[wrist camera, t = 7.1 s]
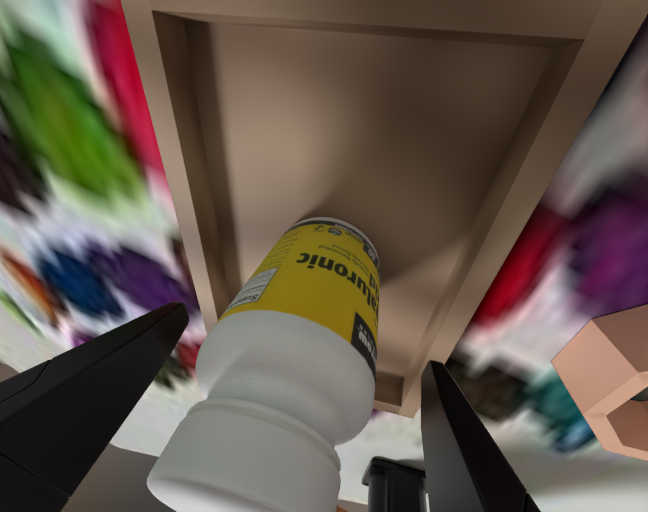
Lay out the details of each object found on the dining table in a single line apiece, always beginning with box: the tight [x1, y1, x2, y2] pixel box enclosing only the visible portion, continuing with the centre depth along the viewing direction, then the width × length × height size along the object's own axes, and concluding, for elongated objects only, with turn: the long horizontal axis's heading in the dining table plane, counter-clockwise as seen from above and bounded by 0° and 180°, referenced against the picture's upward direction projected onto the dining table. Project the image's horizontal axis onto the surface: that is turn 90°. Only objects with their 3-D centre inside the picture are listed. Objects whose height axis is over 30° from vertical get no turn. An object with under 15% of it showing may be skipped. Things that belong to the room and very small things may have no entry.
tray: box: [121, 0, 648, 418], centre depth 13 cm, size 20×14×2 cm
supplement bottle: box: [147, 217, 380, 512], centre depth 9 cm, size 5×5×10 cm
